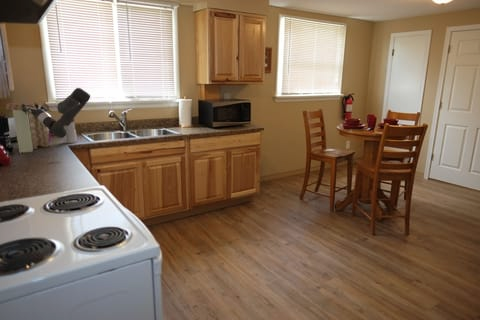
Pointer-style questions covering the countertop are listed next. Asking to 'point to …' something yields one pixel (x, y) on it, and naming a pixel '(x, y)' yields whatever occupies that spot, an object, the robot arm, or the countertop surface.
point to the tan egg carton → (37, 132)
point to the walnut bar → (17, 106)
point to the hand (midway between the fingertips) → (28, 104)
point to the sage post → (22, 131)
